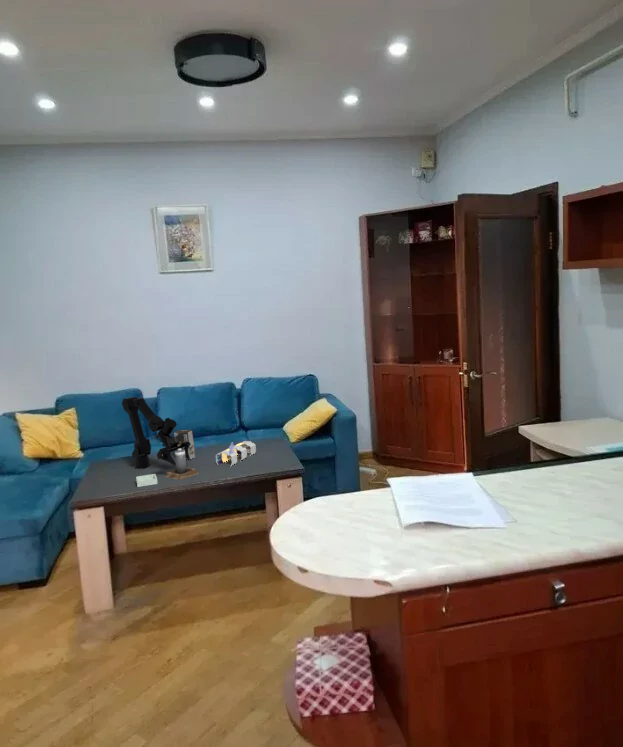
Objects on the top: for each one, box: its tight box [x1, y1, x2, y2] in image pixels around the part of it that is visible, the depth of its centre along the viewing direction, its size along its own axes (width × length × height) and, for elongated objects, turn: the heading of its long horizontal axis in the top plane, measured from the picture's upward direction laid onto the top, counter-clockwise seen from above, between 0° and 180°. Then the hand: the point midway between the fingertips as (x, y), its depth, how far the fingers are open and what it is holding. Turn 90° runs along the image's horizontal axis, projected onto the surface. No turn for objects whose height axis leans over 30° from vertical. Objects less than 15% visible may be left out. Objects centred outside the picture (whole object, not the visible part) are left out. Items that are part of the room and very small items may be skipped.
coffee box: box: [173, 429, 196, 460], centre depth 340 cm, size 9×6×16 cm
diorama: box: [215, 440, 257, 467], centre depth 330 cm, size 25×10×13 cm, turn 155°
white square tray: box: [135, 473, 158, 488], centre depth 298 cm, size 10×10×3 cm
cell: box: [174, 448, 187, 475], centre depth 307 cm, size 5×5×14 cm
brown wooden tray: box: [164, 466, 200, 481], centre depth 308 cm, size 13×13×2 cm
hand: (182, 462), depth 306 cm, fingers open, 9 cm apart
